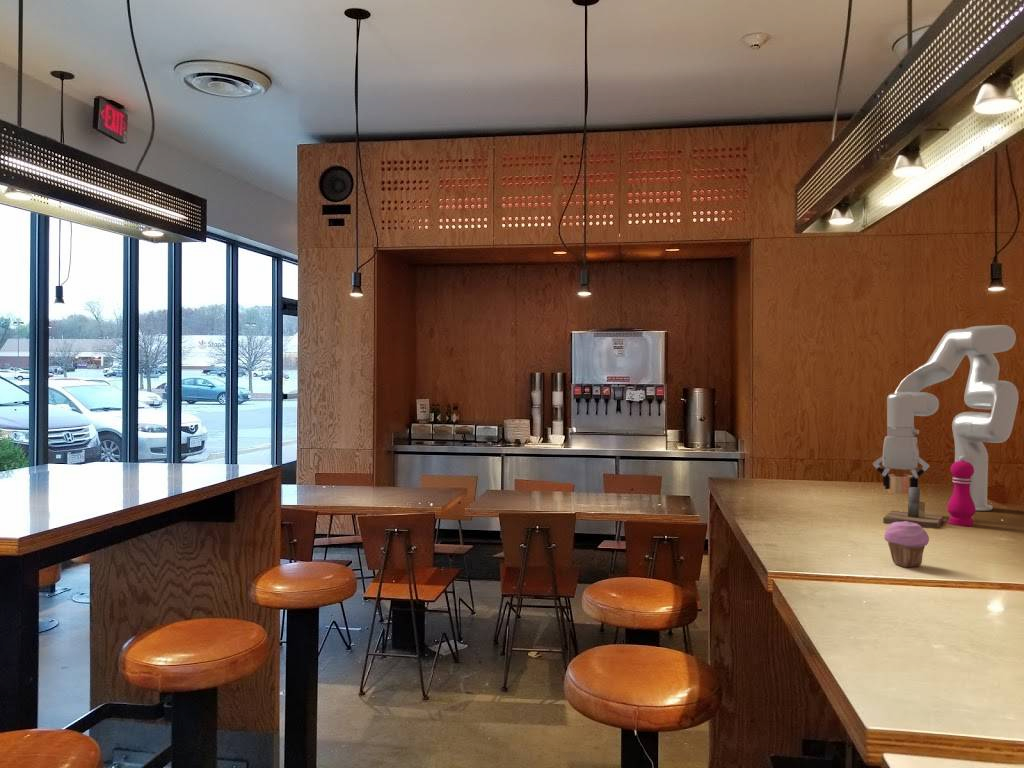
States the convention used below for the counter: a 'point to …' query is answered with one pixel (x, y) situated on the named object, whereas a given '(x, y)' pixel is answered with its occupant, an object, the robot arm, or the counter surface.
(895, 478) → the pale wooden collar
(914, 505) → the keyed shaft block
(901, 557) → the cupcake
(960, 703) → the counter surface
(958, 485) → the pepper mill
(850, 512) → the counter surface
